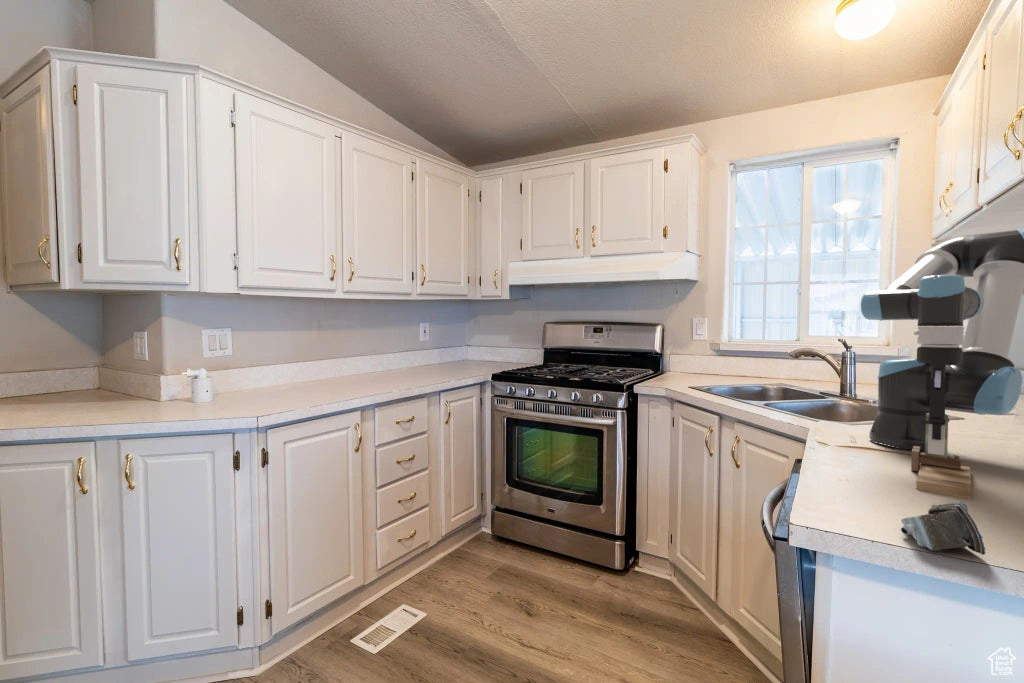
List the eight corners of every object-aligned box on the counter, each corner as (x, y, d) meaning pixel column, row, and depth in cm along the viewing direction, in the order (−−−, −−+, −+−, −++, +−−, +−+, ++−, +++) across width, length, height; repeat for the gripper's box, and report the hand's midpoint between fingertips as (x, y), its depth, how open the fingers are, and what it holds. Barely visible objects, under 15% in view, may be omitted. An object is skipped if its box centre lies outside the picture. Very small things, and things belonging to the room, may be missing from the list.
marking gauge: (913, 464, 111) (914, 411, 111) (960, 471, 106) (962, 415, 105) (911, 470, 107) (912, 414, 107) (960, 478, 101) (962, 419, 101)
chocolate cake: (882, 517, 82) (895, 489, 73) (929, 509, 80) (948, 479, 72) (917, 577, 75) (936, 554, 67) (970, 569, 73) (995, 544, 65)
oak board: (921, 468, 111) (921, 459, 111) (969, 475, 106) (969, 466, 106) (916, 490, 96) (916, 480, 96) (971, 500, 91) (971, 489, 91)
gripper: (919, 344, 114) (916, 443, 115) (914, 346, 102) (911, 456, 103) (962, 345, 109) (959, 448, 110) (963, 347, 97) (959, 463, 98)
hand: (936, 452), depth 106 cm, fingers closed on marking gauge, 3 cm apart
